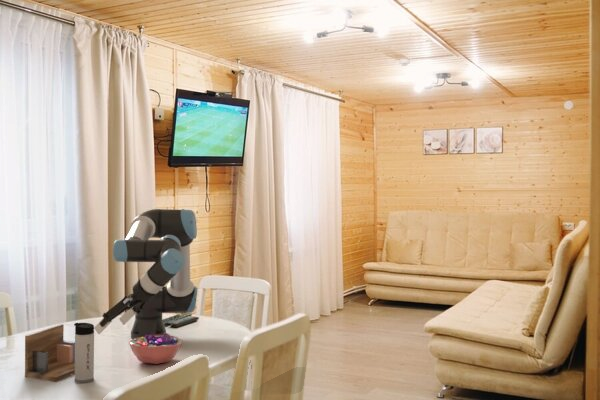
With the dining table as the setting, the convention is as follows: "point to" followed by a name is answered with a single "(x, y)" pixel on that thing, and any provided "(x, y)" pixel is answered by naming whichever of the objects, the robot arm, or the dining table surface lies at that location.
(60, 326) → the shelf
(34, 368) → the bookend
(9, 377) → the dining table surface
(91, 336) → the travel mug
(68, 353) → the books
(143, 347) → the candy bowl
